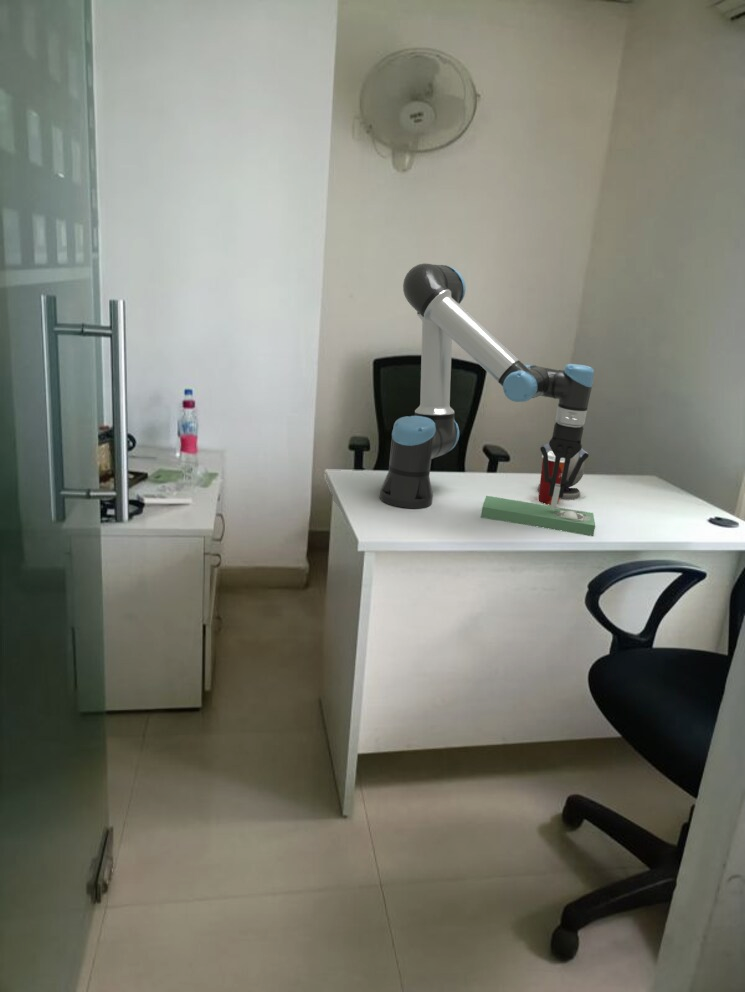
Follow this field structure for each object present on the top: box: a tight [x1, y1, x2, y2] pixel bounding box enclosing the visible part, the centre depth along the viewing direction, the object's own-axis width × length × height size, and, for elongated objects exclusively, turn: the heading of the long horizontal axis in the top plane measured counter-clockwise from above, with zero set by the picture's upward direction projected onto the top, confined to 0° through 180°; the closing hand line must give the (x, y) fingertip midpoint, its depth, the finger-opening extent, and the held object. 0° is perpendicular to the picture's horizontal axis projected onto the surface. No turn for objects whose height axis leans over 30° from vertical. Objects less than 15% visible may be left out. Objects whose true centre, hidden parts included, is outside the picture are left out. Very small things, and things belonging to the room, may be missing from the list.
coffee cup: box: [537, 450, 565, 506], centre depth 212 cm, size 8×8×15 cm
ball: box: [563, 511, 578, 519], centre depth 194 cm, size 4×4×4 cm
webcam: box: [537, 449, 586, 501], centre depth 221 cm, size 13×13×15 cm
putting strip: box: [480, 495, 596, 537], centre depth 196 cm, size 30×11×3 cm, turn 76°
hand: (553, 507), depth 194 cm, fingers closed
